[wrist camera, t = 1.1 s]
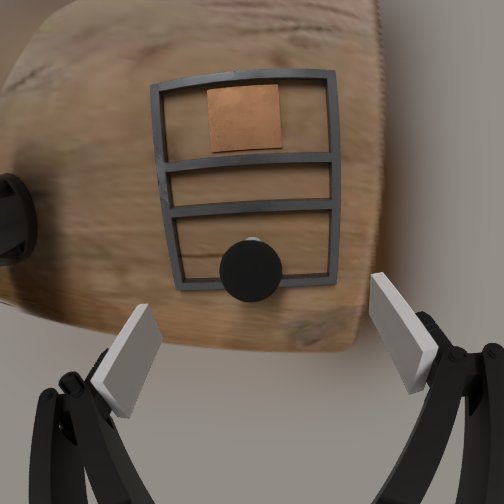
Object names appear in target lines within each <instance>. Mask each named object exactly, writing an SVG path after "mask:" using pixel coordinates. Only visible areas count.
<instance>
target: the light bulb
mask: <svg viewBox="0 0 504 504" xmlns="http://www.w3.org/2000/svg"><path fill="white" fill-rule="evenodd" d="M219 273H220V278H221V282H222V284H223V286H224V288H225V289H226V291H227V292H228V293H229V294H230V295H232V296H233V297H234V298H236V299H238V300H240V301H244V302H258V301H261V300H264V299H266V298H267V297H269V296H270V295H271V294H273V293H274V291H275V290H276V289H277V287H278V285H279V283H280V281H281V277H282V265H281V261H280V259H279V257H278V255H277V253H276V252H275V251H274V250H273V248H271V247H270V246H269V245H267V244H266V243H264V242H262V241H261V240H260V239H258V238H256V237H250V238H247V239H246V240H244V241H241V242H238V243H236V244H234V245H233V246H231V247H230V248H229V249H228V250H227V251H226V253H225V254H224V256H223V258H222V260H221V264H220V271H219Z"/></svg>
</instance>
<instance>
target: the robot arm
mask: <svg viewBox="0 0 504 504" xmlns="http://www.w3.org/2000/svg"><path fill="white" fill-rule="evenodd" d="M36 235H37V224H36V216H35V210H34V206H33V203H32V200H31V197H30V195H29V192H28V190H27V189H26V187H25V185H24V184H23V182H22V181H21V180H20V179H19V178H18V177H17V176H15V175H13V174H10V173H5V174H1V175H0V267H1V266H6V265H12V264H16V263H19V262H21V261H22V260H24V259H25V258H27V257H28V256H29V255H30V254H31V252H32V251H33V249H34V246H35V242H36ZM369 315H370V317H371V319H372V320H373V322H374V324H375V326H376V328H377V330H378V332H379V334H380V336H381V338H382V340H383V342H384V344H385V346H386V348H387V350H388V352H389V354H390V355H391V358H392V359H393V362H394V364H395V366H396V368H397V370H398V372H399V374H400V376H401V379H402V381H403V383H404V385H405V387H406V389H407V392H408V394H409V395H410V394H413V393H416V392H419V391H422V390H424V387H425V384H426V382H427V384H428V386H429V387H430V389H429V391H428V394H427V396H426V398H425V400H424V405H423V407H422V410H421V412H420V414H419V417H418V419H417V421H416V424H415V426H414V428H413V431H412V433H411V435H410V437H409V439H408V441H407V443H406V445H405V447H404V449H403V451H402V453H401V455H400V457H399V459H398V461H397V462H396V464H395V466H394V468H393V470H392V471H391V473H390V475H389V477H388V478H387V480H386V482H385V483H384V485H383V486H382V488H381V490H380V491H379V493H378V494H377V496H376V497H375V499H374V500H373V502H372V503H371V504H420V503H421V501H422V499H423V497H424V496H425V494H426V492H427V490H428V487H429V485H430V483H431V481H432V479H433V477H434V475H435V472H436V470H437V468H438V466H439V463H440V461H441V458H442V456H443V453H444V451H445V448H446V445H447V443H448V440H449V437H450V434H451V431H452V428H453V425H454V421H455V418H456V415H457V411H458V408H459V404H460V400H461V397H464V396H465V432H464V449H463V459H462V468H461V475H460V482H459V488H458V493H457V498H456V503H455V504H504V348H503V347H502V346H501V345H499V344H496V343H489V344H487V345H485V346H484V348H483V350H482V352H481V353H467V351H465V350H464V349H463V348H460V347H458V346H453V345H452V344H451V342H450V341H449V340H448V338H447V337H446V336H445V334H444V333H443V332H442V331H441V329H439V326H438V325H437V324H436V323H435V321H434V320H433V318H432V317H431V316H430V315H428V314H427V313H425V312H423V311H421V312H417V313H414V312H413V311H412V309H411V308H410V306H409V305H408V304H407V302H406V301H405V300H404V298H403V297H402V296H401V294H400V293H399V292H398V291H397V290H396V288H395V287H394V286H393V284H392V283H391V282H390V280H388V278H387V277H386V276H385V274H384V273H383V272H381V273H376V274H371V284H370V304H369ZM162 340H163V337H162V335H161V332H160V330H159V328H158V325H157V323H156V321H155V318H154V316H153V313H152V311H151V308H150V306H149V304H139V305H138V306H137V307H136V309H135V310H134V312H133V313H132V315H131V316H130V318H129V319H128V321H127V322H126V324H125V325H124V327H123V328H122V330H121V332H120V333H119V335H118V336H117V338H116V340H115V341H114V343H113V344H112V346H111V347H110V349H106V350H105V351H104V352H103V353H102V354H101V355H100V357H99V358H98V360H97V362H96V363H95V364H94V367H93V368H92V369H91V371H90V373H89V374H88V376H87V378H86V379H85V381H83V379H82V378H81V376H80V375H79V374H78V373H77V372H69V373H66V374H65V375H64V376H63V377H62V378H61V379H60V381H59V386H60V388H61V389H62V390H63V392H64V393H65V394H58V392H57V391H56V390H55V389H54V388H48V389H46V390H44V391H43V392H42V393H41V395H40V396H39V400H38V405H37V411H36V416H35V422H34V428H33V436H32V444H31V454H30V468H29V504H88V501H87V493H86V485H85V473H84V467H85V470H86V473H87V476H88V479H89V482H90V484H91V487H92V490H93V492H94V495H95V497H96V500H97V502H98V504H155V503H154V501H153V500H152V498H151V496H150V494H149V493H148V491H147V489H146V488H145V486H144V484H143V482H142V481H141V479H140V477H139V475H138V473H137V471H136V469H135V467H134V465H133V463H132V462H131V460H130V457H129V455H128V453H127V451H126V449H125V447H124V445H123V442H122V440H121V438H120V436H119V433H118V431H117V429H116V426H115V424H114V422H113V419H112V418H111V416H110V413H111V411H113V412H114V413H115V415H116V416H117V417H121V418H128V419H129V418H130V416H131V413H132V411H133V408H134V405H135V403H136V401H137V399H138V396H139V394H140V391H141V389H142V386H143V384H144V382H145V379H146V377H147V375H148V372H149V370H150V368H151V365H152V363H153V361H154V358H155V356H156V354H157V351H158V349H159V347H160V345H161V342H162ZM59 425H60V427H59Z"/></svg>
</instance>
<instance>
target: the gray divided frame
mask: <svg viewBox="0 0 504 504" xmlns="http://www.w3.org/2000/svg"><path fill="white" fill-rule="evenodd" d="M258 80H325V90H326V103H327V119H328V139H329V152H301V153H268V154H250V155H235V156H223V157H212V158H202V159H193V160H185V161H177V162H169V163H168V160H167V150H166V139H165V126H164V112H163V95H162V93H164V92H169V91H174V90H180V89H186V88H192V87H198V86H205V85H213V84H222V83H231V82H243V81H258ZM150 95H151V113H152V127H153V139H154V150H155V160H156V169H157V177H158V186H159V193H160V201H161V208H162V214H163V221H164V227H165V233H166V239H167V245H168V250H169V256H170V261H171V266H172V272H173V277H174V281H175V286H176V290H214V289H225V288H224V286H223V284H222V282H221V278H190V279H185V278H184V272H183V267H182V261H181V255H180V249H179V243H178V237H177V230H176V224H175V217H184V216H197V215H211V214H226V213H243V212H262V211H284V210H312V209H329V247H328V268H327V273H313V274H294V275H282V277H281V281H280V283H279V285H278V287H292V286H310V285H326V284H337V271H338V257H339V239H340V211H341V152H340V126H339V108H338V95H337V83H336V73H335V70H320V69H260V70H244V71H233V72H223V73H214V74H207V75H200V76H193V77H187V78H181V79H176V80H171V81H166V82H161V83H157V84H152V85H150ZM207 96H208V111H209V125H210V138H211V151H212V152H219V151H231V150H244V149H260V148H282V138H281V121H280V106H279V92H278V84H273V85H252V86H238V87H227V88H218V89H210V90H207ZM289 162H329V178H330V198H305V199H277V200H256V201H239V202H223V203H210V204H197V205H185V206H174V207H173V202H172V195H171V187H170V178H169V172H173V171H181V170H189V169H199V168H209V167H220V166H232V165H246V164H264V163H289Z"/></svg>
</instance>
